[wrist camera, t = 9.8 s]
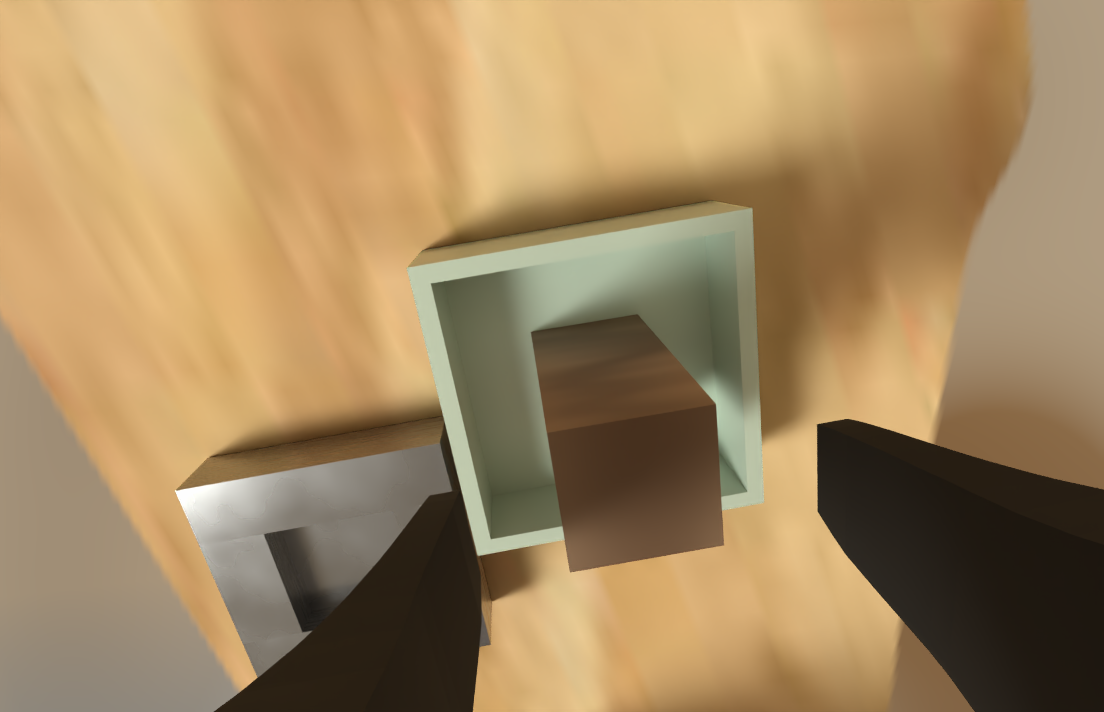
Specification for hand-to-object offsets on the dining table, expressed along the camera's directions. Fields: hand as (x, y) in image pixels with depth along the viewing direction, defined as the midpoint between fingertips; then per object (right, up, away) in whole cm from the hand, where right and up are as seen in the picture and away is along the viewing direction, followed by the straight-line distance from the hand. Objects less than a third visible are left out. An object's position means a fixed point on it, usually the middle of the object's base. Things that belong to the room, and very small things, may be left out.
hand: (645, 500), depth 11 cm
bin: (-1, +3, +8) cm, 8 cm away
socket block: (-9, -4, +9) cm, 13 cm away
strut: (-1, +2, +7) cm, 8 cm away
